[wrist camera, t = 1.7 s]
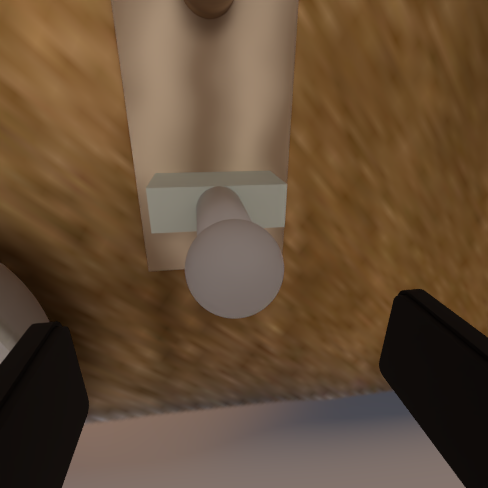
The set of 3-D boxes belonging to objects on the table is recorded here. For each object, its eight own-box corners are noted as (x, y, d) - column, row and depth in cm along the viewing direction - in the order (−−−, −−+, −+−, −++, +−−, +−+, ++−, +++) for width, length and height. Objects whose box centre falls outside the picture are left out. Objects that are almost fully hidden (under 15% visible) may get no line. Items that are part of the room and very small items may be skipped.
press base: (296, -112, 19) (346, -222, 13) (276, 253, 30) (298, 292, 23) (99, -135, 18) (45, -272, 11) (151, 261, 28) (139, 304, 22)
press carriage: (270, 164, 24) (372, 235, 10) (268, 212, 26) (354, 328, 12) (154, 166, 23) (93, 250, 9) (160, 216, 24) (115, 353, 11)
